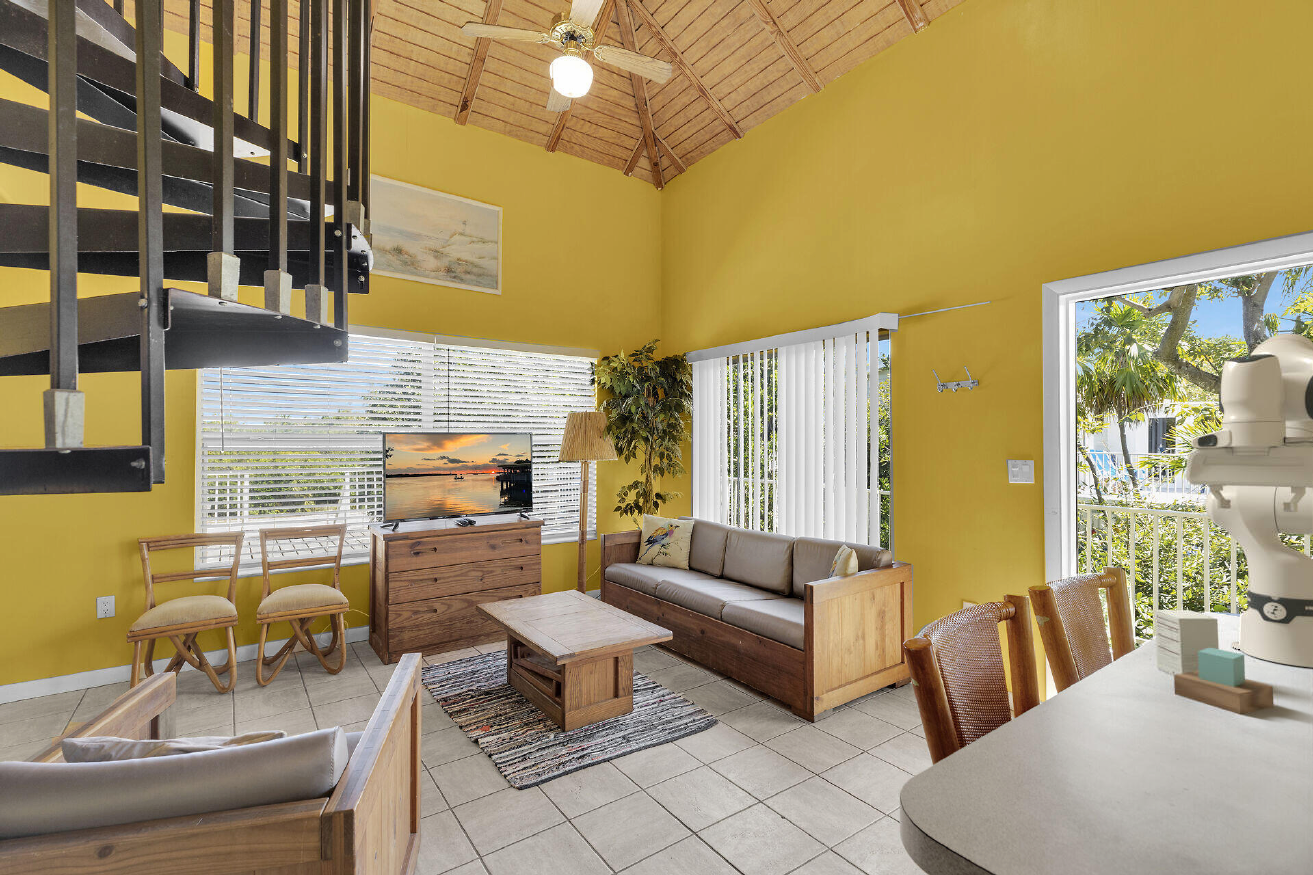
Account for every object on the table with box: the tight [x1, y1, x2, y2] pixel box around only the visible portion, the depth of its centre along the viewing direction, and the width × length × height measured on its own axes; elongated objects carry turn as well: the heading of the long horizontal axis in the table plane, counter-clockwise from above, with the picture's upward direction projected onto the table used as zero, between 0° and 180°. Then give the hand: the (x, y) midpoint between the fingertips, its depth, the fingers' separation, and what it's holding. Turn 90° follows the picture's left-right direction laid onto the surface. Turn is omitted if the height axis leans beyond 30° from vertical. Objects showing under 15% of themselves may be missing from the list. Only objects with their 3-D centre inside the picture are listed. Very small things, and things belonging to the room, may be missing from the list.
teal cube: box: [1198, 647, 1246, 687], centre depth 114 cm, size 5×5×5 cm
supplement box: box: [1154, 609, 1220, 677], centre depth 127 cm, size 7×7×13 cm
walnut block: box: [1173, 670, 1275, 715], centre depth 113 cm, size 10×10×4 cm
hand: (1256, 510), depth 117 cm, fingers open, 8 cm apart
